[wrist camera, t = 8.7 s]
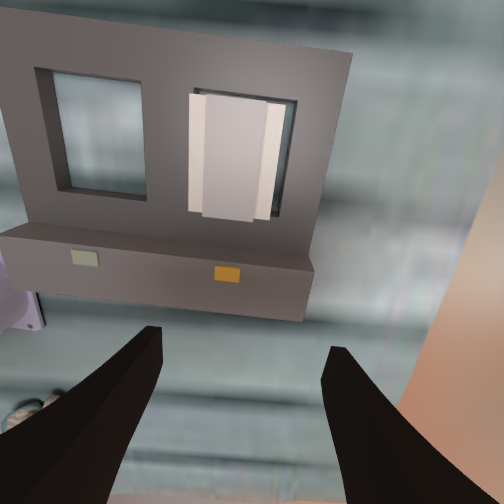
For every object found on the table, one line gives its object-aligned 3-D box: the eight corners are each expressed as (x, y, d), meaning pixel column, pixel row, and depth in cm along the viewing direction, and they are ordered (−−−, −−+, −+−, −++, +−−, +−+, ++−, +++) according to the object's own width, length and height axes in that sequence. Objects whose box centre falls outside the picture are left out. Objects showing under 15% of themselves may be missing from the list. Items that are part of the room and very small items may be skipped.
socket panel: (54, 263, 22) (9, 291, 18) (-2, 13, 15) (-91, -26, 11) (295, 290, 22) (302, 324, 18) (345, 59, 15) (373, 35, 12)
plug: (210, 186, 19) (185, 214, 12) (214, 106, 17) (185, 91, 10) (266, 192, 19) (269, 224, 12) (277, 114, 17) (287, 103, 10)
